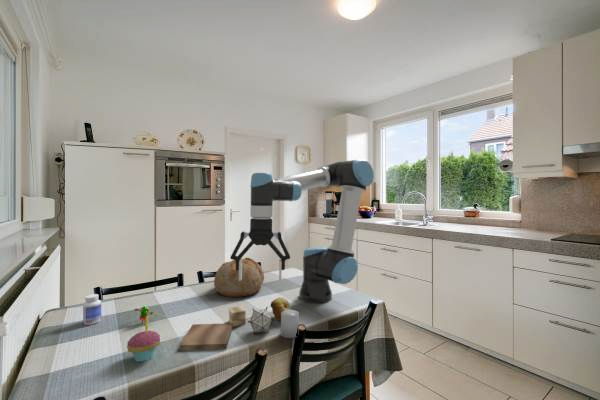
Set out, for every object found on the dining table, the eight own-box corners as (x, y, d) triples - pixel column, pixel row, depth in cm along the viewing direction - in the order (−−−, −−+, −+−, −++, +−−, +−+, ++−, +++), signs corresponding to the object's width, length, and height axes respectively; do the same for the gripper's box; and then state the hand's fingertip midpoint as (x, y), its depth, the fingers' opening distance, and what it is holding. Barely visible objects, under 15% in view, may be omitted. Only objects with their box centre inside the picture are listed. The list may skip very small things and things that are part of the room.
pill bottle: (104, 320, 107) (104, 294, 107) (90, 326, 102) (89, 299, 102) (94, 317, 109) (94, 292, 109) (79, 323, 104) (79, 297, 104)
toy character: (145, 333, 98) (145, 314, 98) (120, 327, 103) (120, 308, 102) (170, 320, 108) (170, 303, 108) (147, 315, 113) (147, 298, 112)
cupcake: (136, 349, 87) (136, 310, 87) (165, 348, 88) (165, 310, 88) (121, 366, 79) (121, 323, 79) (153, 365, 79) (153, 322, 79)
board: (232, 327, 102) (232, 323, 102) (226, 348, 89) (226, 343, 89) (192, 328, 101) (192, 324, 101) (179, 350, 87) (179, 345, 87)
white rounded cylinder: (297, 329, 102) (297, 309, 101) (299, 337, 96) (299, 317, 96) (280, 329, 101) (280, 310, 101) (281, 338, 95) (281, 317, 95)
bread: (228, 279, 159) (228, 253, 159) (269, 282, 156) (269, 254, 155) (206, 296, 133) (206, 264, 132) (254, 300, 129) (255, 267, 129)
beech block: (242, 318, 110) (242, 305, 110) (245, 324, 105) (245, 310, 105) (228, 321, 108) (229, 307, 108) (231, 326, 103) (231, 312, 103)
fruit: (275, 325, 105) (275, 303, 104) (266, 316, 112) (267, 296, 112) (293, 321, 108) (293, 300, 108) (284, 312, 115) (284, 293, 115)
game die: (263, 344, 98) (267, 329, 92) (242, 333, 100) (244, 318, 94) (275, 322, 105) (279, 307, 99) (254, 312, 107) (257, 296, 101)
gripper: (296, 217, 103) (295, 276, 104) (226, 216, 101) (225, 276, 101) (298, 219, 96) (297, 282, 96) (222, 218, 94) (221, 283, 94)
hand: (260, 279), depth 99 cm, fingers open, 13 cm apart
